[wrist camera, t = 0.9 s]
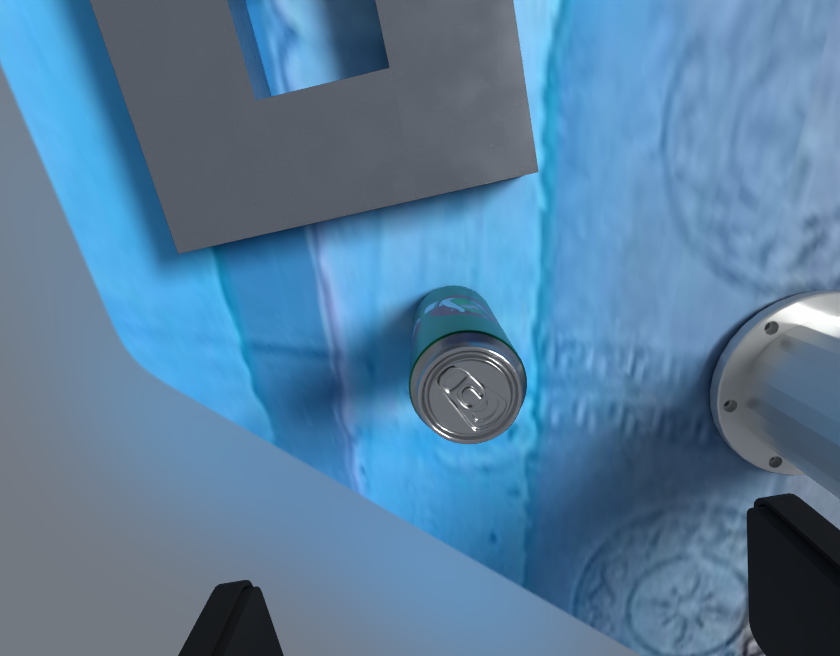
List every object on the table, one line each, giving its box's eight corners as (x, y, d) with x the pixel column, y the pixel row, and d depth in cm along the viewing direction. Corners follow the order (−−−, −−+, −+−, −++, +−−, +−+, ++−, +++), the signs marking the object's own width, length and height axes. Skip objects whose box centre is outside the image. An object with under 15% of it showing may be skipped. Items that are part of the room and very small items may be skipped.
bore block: (459, -244, 24) (466, -317, 20) (524, 174, 29) (538, 171, 25) (78, -137, 25) (24, -189, 22) (205, 247, 30) (178, 253, 27)
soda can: (452, 374, 32) (469, 475, 21) (397, 323, 31) (382, 398, 20) (507, 321, 31) (558, 396, 20) (452, 267, 30) (471, 311, 19)
